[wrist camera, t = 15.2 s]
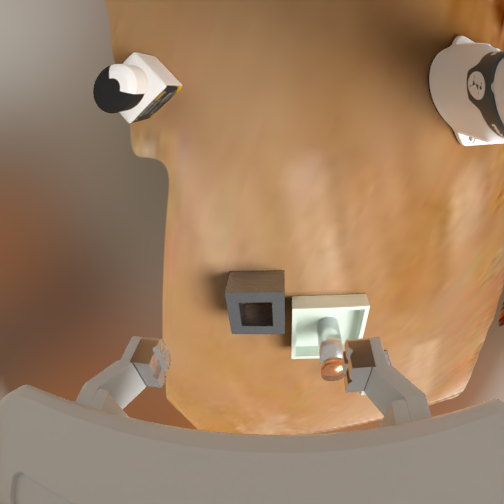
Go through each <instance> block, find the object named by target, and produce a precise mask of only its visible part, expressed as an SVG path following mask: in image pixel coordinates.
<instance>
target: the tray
mask: <svg viewBox="0 0 504 504" xmlns="http://www.w3.org/2000/svg"><path fill="white" fill-rule="evenodd" d="M369 308H370V304H369V301H368V298H367V295H366V294H344V295H318V296H292V337H291V359H306V358H320V355H319V345H318V336H317V327H316V325H317V322H318V321H319V320H320V319H322V318H324V317H333V318H336V319H337V320H338V323H339V328H340V334H341V339H342V344H343V350H344V351H345V346H344V345H345V341H346V340H350V339H361V338H363V334H364V330H365V326H366V321H367V317H368V313H369Z"/></svg>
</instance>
